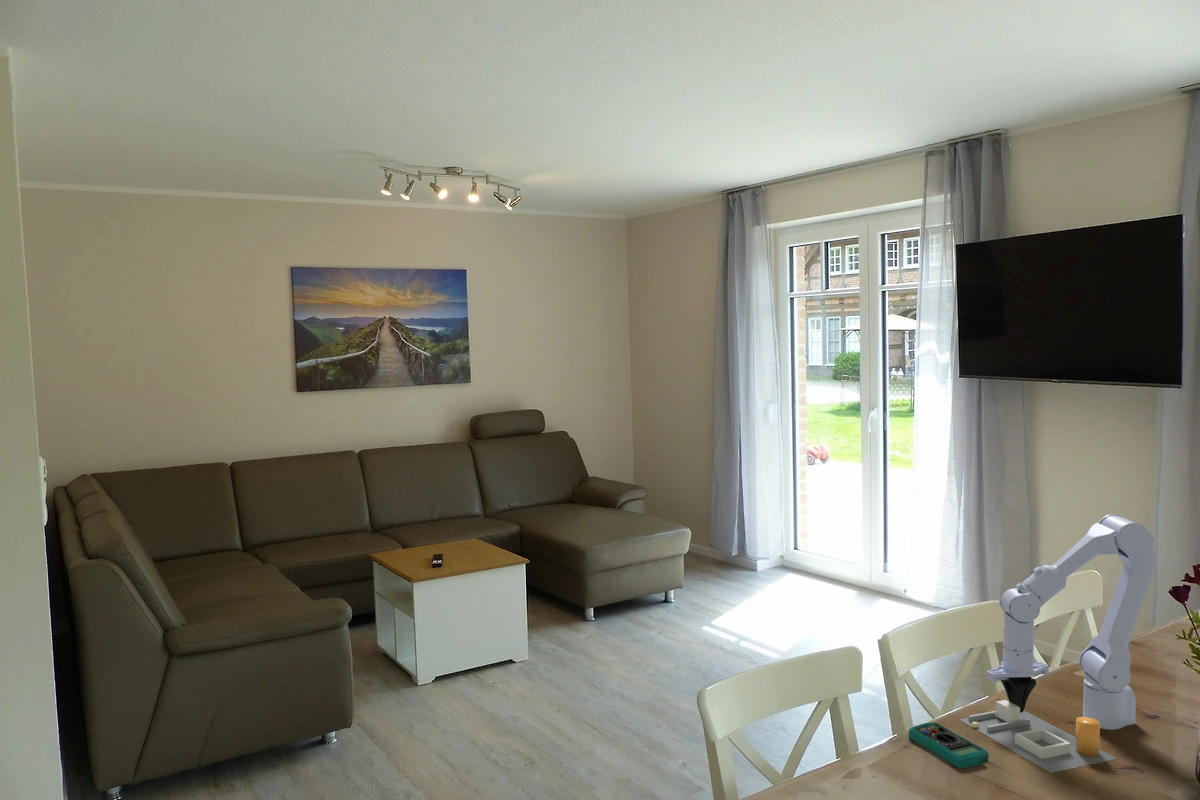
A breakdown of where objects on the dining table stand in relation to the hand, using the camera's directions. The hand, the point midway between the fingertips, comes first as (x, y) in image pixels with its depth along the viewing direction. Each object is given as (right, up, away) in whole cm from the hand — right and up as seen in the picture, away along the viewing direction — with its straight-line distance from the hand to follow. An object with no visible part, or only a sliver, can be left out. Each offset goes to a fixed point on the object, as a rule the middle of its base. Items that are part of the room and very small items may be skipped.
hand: (1017, 710), depth 181 cm
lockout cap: (+6, -3, -15) cm, 16 cm away
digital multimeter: (-19, -5, -10) cm, 22 cm away
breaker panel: (-1, -4, -9) cm, 9 cm away
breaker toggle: (-2, -2, -1) cm, 3 cm away
